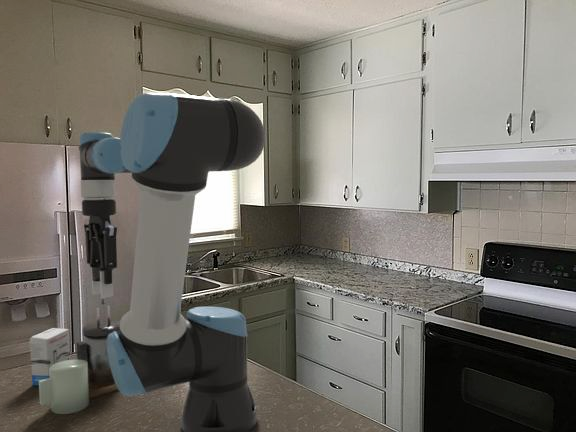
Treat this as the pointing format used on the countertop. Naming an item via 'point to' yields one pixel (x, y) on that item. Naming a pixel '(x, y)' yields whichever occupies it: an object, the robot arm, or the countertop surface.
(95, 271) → the plunger
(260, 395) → the countertop surface
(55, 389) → the sage mug
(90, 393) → the glass french press
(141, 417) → the countertop surface
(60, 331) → the ink box
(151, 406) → the countertop surface
